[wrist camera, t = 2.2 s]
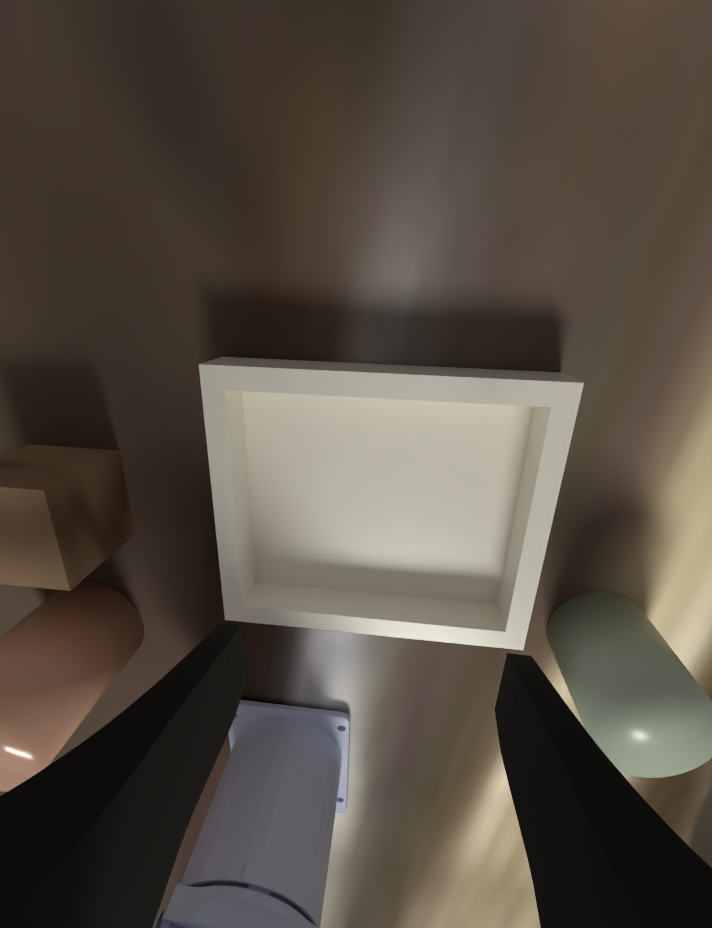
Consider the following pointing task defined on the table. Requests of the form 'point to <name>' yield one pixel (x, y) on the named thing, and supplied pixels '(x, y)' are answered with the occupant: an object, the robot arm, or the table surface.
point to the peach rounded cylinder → (59, 672)
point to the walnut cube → (60, 514)
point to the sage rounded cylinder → (630, 686)
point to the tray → (385, 494)
